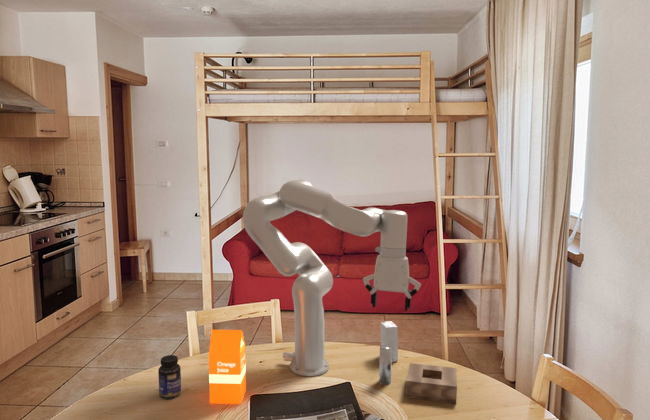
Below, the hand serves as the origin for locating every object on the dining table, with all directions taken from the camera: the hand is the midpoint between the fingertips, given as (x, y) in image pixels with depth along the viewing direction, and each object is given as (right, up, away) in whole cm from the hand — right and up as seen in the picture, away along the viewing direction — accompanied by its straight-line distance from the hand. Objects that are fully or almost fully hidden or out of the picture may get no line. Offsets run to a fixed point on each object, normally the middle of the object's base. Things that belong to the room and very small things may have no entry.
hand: (390, 308), depth 147 cm
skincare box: (+2, -21, +20) cm, 29 cm away
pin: (-1, -23, +3) cm, 23 cm away
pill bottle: (-64, -24, -6) cm, 69 cm away
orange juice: (-47, -24, -7) cm, 54 cm away
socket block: (+12, -24, -2) cm, 27 cm away
